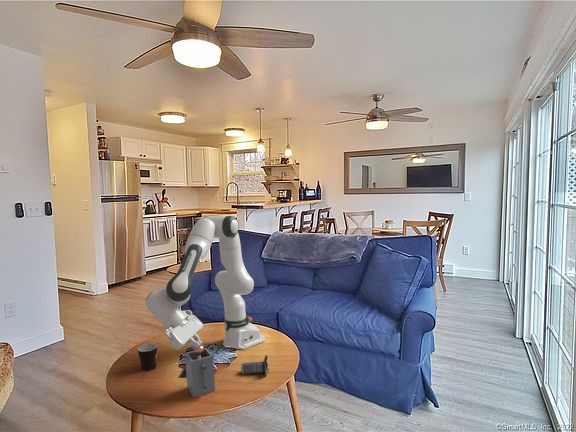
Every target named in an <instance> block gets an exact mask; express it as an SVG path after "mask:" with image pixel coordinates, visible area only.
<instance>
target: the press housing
mask: <svg viewBox="0 0 576 432" xmlns="http://www.w3.org/2000/svg"><path fill="white" fill-rule="evenodd" d="M203 351H204V353H203V354H202V355H201V358H200V359H198V355H195V351H194V350H192V351H189V352H186V353H185V355H184V356H185V365H186V375H187V377H186V388H187V390H188V391H189V394H190V395H191V396H192V398H197V397H201V396H203V395H207V394H209V393H213V392H215V391H216V386H215V384H216V383H215V381H216V380H215V365H214V364H215V362H214V360H215V359H214V355H213V354H212V352H211V351H210V350H209V349H208V348H207V347H203Z"/></svg>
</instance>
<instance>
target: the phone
mask: <svg viewBox="0 0 576 432" xmlns="http://www.w3.org/2000/svg"><path fill="white" fill-rule="evenodd" d="M180 378H186V379H187V375H186V364H185V365H184V367H183V369H182V371H181V373H180Z"/></svg>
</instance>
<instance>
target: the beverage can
mask: <svg viewBox="0 0 576 432" xmlns="http://www.w3.org/2000/svg"><path fill="white" fill-rule="evenodd" d="M268 367H269V364H268V355H265V356H264V359H263V361H256V362H255V361H253V362H244V363H243V362H242V364H241V367H240V371H241V373H242V374H243V375H244V374H245V375H247V374H257V373H263V374H264V377H267V375H268V374H269V371H268V370H269V368H268Z"/></svg>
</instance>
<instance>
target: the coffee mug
mask: <svg viewBox="0 0 576 432" xmlns="http://www.w3.org/2000/svg"><path fill="white" fill-rule="evenodd" d="M137 353H138V357H139V362H140V368H141V369H140V370H141V371H142V370H143V372H151V371H153V370H155V369H156V367H157V356H158V344H157V343H154V342H151V343H145V344H142V345H140V346H138V347H137Z"/></svg>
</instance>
